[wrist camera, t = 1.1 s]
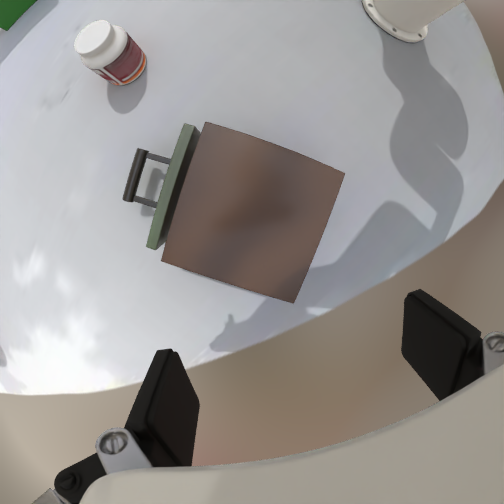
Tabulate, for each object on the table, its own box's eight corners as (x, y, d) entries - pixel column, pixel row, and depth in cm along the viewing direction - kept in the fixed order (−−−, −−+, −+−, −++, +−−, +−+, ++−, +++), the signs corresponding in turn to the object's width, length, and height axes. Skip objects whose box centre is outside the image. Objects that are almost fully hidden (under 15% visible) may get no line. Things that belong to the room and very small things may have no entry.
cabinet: (177, 243, 35) (160, 261, 27) (213, 135, 32) (205, 121, 24) (282, 278, 37) (293, 303, 29) (322, 174, 33) (345, 173, 26)
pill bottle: (148, 45, 27) (121, 7, 17) (146, 81, 29) (113, 49, 18) (109, 55, 27) (73, 25, 17) (106, 91, 29) (64, 66, 18)
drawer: (128, 224, 33) (106, 233, 27) (158, 124, 30) (141, 113, 24) (261, 268, 35) (266, 287, 29) (298, 168, 32) (311, 166, 26)
